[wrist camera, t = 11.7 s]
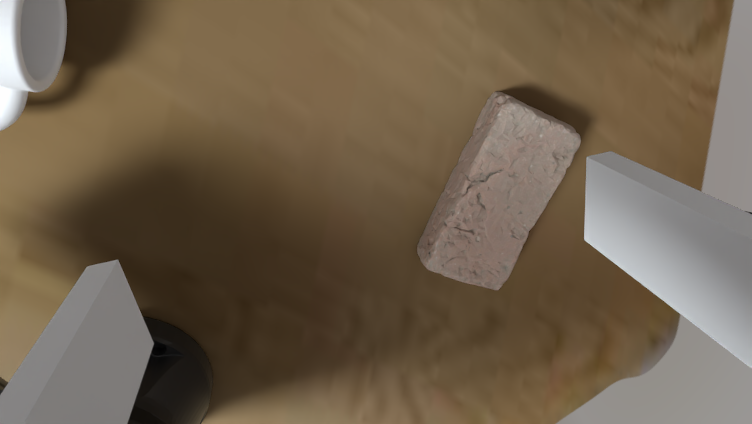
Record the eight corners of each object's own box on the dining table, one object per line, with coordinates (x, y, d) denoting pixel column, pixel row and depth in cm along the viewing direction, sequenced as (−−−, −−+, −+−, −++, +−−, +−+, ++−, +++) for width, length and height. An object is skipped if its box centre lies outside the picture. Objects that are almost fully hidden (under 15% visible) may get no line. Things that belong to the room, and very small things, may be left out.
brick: (488, 86, 43) (512, 97, 39) (564, 121, 46) (593, 134, 41) (409, 248, 48) (422, 273, 44) (481, 271, 51) (500, 296, 46)
